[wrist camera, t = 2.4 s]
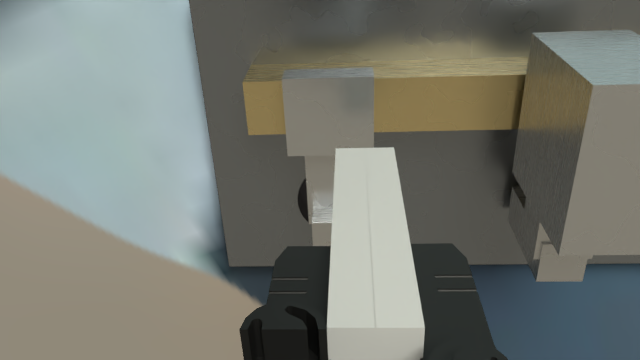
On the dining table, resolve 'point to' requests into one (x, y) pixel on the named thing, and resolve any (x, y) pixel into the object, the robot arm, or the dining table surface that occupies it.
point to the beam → (374, 109)
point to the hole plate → (410, 147)
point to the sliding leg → (578, 152)
